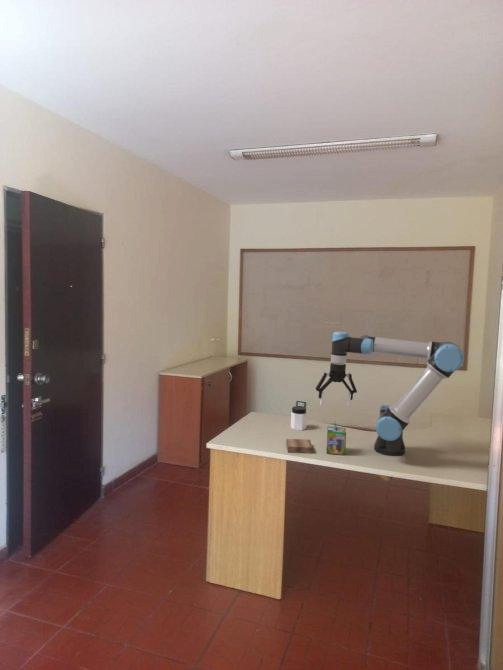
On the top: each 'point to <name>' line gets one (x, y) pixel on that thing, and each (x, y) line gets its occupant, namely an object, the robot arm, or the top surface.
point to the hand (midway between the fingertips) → (334, 405)
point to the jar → (298, 418)
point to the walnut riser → (299, 446)
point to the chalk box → (336, 440)
